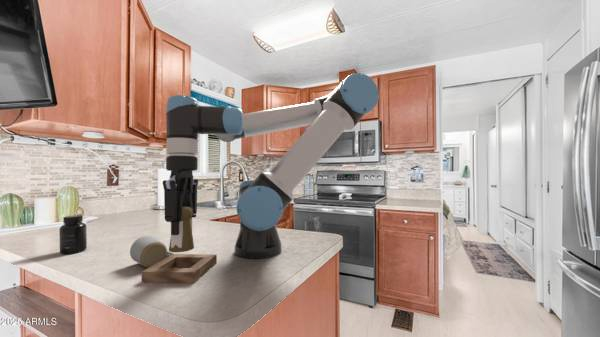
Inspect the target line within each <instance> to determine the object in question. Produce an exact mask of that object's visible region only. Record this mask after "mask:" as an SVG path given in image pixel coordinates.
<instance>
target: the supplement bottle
mask: <svg viewBox="0 0 600 337" xmlns="http://www.w3.org/2000/svg"><path fill="white" fill-rule="evenodd" d="M83 220H84V219H83V215H81V214H75V215H74V214H73V215H66V216H64V217H63V222H62V223H63V225H61V226H60V227H59V254H60V255H73V254H74V255H75V254H79V253H81V252H84V251H86V250H87V248H88V247H87V245H88V239H87V237H88V236H87V234H88V233H87V224H86V223H85V222H83Z"/></svg>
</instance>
